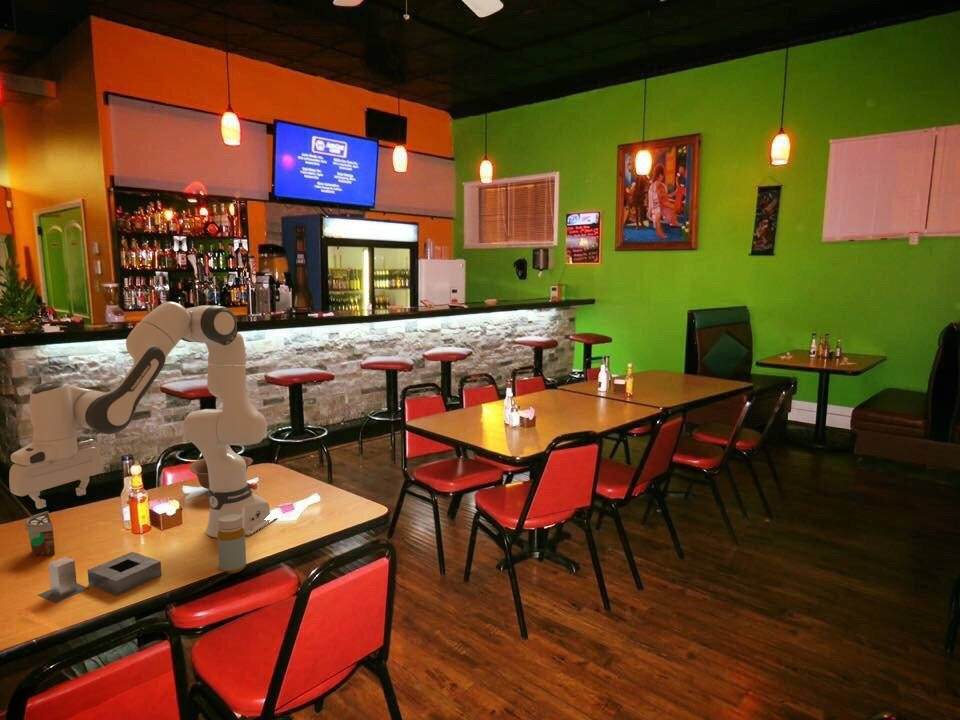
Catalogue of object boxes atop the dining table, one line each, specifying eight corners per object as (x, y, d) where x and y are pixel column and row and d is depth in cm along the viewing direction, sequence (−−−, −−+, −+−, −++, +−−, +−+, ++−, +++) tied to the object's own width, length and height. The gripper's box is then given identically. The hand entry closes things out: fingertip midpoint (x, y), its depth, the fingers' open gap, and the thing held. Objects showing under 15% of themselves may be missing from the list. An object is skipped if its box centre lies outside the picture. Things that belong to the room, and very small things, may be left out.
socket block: (133, 568, 167) (132, 551, 167) (161, 578, 162) (160, 561, 161) (89, 588, 157) (87, 570, 156) (117, 599, 151) (116, 581, 151)
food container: (25, 547, 180) (22, 515, 178) (51, 541, 184) (48, 510, 182) (29, 562, 170) (25, 529, 169) (55, 556, 174) (52, 523, 173)
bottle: (250, 562, 172) (247, 512, 169) (241, 574, 165) (238, 522, 163) (225, 562, 171) (222, 512, 169) (215, 574, 164) (212, 522, 162)
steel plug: (68, 586, 156) (65, 556, 155) (77, 589, 154) (74, 560, 153) (51, 593, 152) (48, 563, 151) (60, 597, 151) (57, 566, 150)
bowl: (202, 506, 213) (200, 476, 211) (182, 489, 229) (181, 461, 227) (263, 491, 227) (262, 463, 226) (241, 476, 244) (239, 450, 242)
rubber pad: (71, 584, 159) (71, 580, 159) (89, 592, 155) (89, 588, 155) (37, 598, 152) (37, 595, 152) (56, 606, 148) (55, 603, 148)
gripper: (91, 435, 160) (96, 485, 162) (2, 457, 142) (9, 512, 144) (105, 438, 157) (110, 489, 159) (17, 461, 139) (23, 518, 141)
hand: (61, 500), depth 152 cm, fingers open, 8 cm apart
